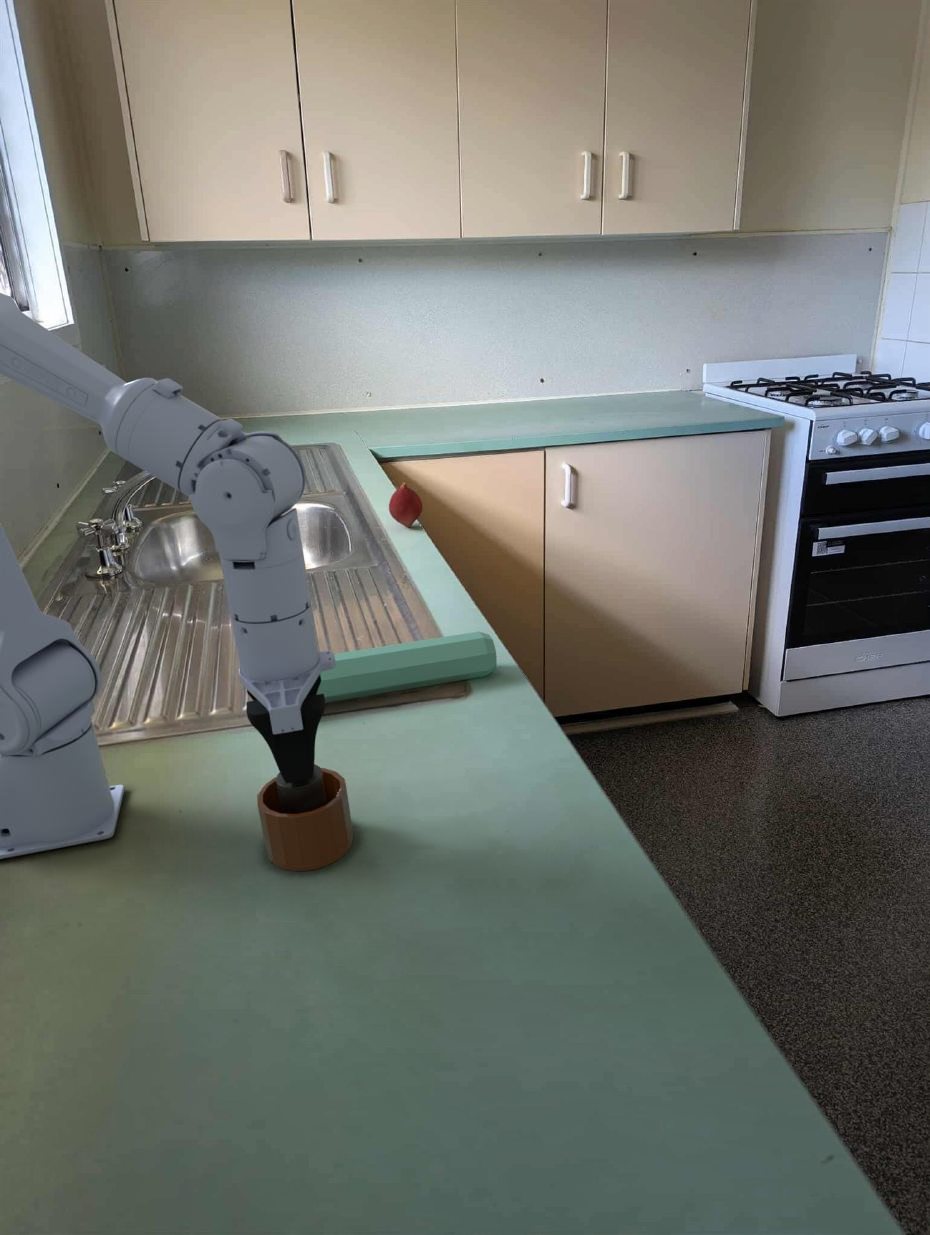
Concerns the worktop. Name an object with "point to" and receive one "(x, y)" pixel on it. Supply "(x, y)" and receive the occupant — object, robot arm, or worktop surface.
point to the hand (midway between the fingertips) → (298, 770)
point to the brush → (302, 793)
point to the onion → (405, 505)
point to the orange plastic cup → (307, 827)
